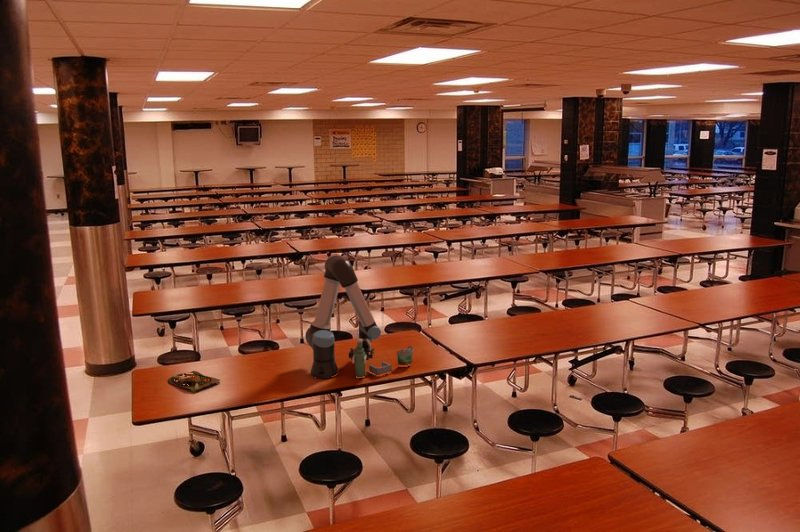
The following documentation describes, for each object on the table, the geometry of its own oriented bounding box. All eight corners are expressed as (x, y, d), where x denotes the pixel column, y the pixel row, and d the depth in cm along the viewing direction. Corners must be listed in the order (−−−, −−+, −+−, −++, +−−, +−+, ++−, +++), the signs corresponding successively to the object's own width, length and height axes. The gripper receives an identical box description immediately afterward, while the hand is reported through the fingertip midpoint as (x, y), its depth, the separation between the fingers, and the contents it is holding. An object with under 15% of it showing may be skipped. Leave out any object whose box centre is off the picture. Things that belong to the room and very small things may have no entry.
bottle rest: (366, 372, 342) (366, 363, 341) (381, 368, 348) (381, 360, 347) (377, 377, 334) (377, 369, 333) (392, 373, 340) (391, 365, 339)
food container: (405, 370, 345) (405, 353, 343) (396, 367, 349) (396, 350, 347) (418, 363, 355) (418, 347, 353) (409, 361, 358) (409, 345, 356)
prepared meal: (163, 375, 330) (193, 365, 343) (163, 381, 330) (193, 371, 344) (192, 390, 312) (223, 379, 326) (193, 396, 313) (223, 385, 327)
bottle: (353, 376, 335) (352, 339, 331) (361, 374, 339) (361, 337, 334) (358, 379, 331) (358, 341, 327) (367, 377, 334) (367, 339, 330)
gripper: (379, 353, 351) (376, 367, 328) (347, 352, 351) (341, 367, 329) (379, 340, 349) (376, 354, 326) (347, 340, 350) (341, 354, 327)
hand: (359, 360), depth 328 cm, fingers closed on bottle, 6 cm apart
